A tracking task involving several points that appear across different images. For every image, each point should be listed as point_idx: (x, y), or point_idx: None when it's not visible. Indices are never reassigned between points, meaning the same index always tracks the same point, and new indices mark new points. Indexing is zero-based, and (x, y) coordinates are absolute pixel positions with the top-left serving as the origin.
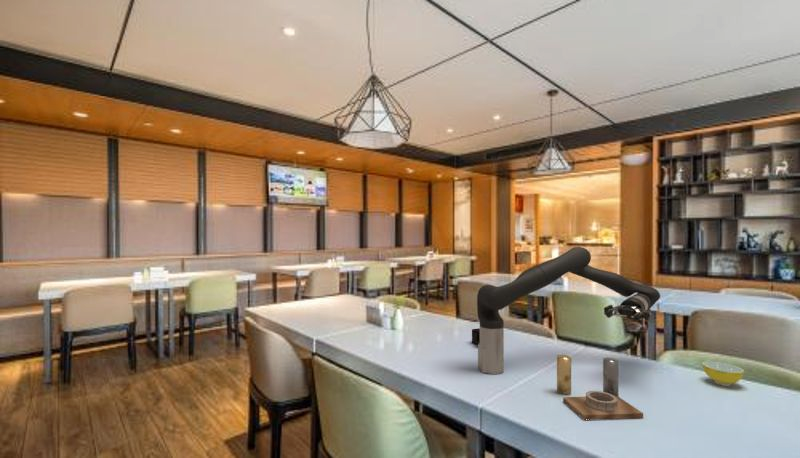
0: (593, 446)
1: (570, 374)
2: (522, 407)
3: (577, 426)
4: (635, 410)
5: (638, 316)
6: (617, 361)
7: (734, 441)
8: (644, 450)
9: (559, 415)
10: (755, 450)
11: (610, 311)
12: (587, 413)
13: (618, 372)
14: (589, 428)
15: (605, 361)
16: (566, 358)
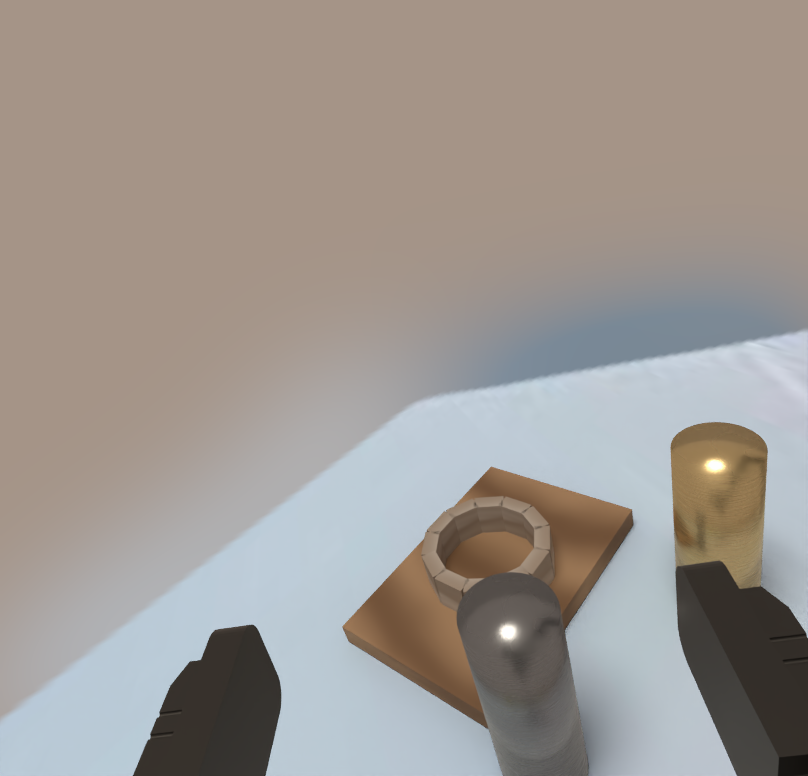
0: (417, 416)
1: (674, 526)
2: (673, 408)
3: (489, 446)
4: (372, 625)
5: (185, 668)
6: (461, 619)
7: (64, 722)
8: (319, 479)
9: (564, 452)
10: (23, 708)
11: (716, 641)
12: (491, 481)
13: (473, 678)
14: (460, 461)
15: (523, 576)
16: (687, 441)
